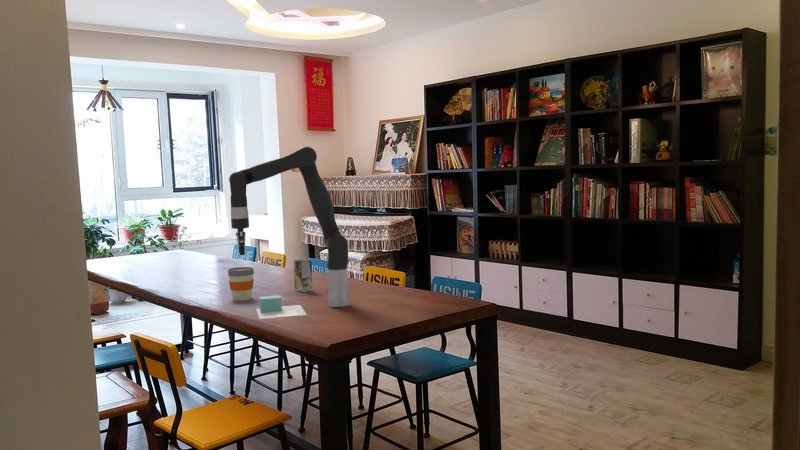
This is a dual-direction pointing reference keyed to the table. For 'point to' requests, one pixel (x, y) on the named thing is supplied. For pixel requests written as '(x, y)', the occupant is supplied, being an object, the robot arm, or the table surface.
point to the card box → (270, 304)
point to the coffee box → (303, 275)
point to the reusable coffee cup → (241, 282)
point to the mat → (283, 312)
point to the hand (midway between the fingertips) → (241, 254)
